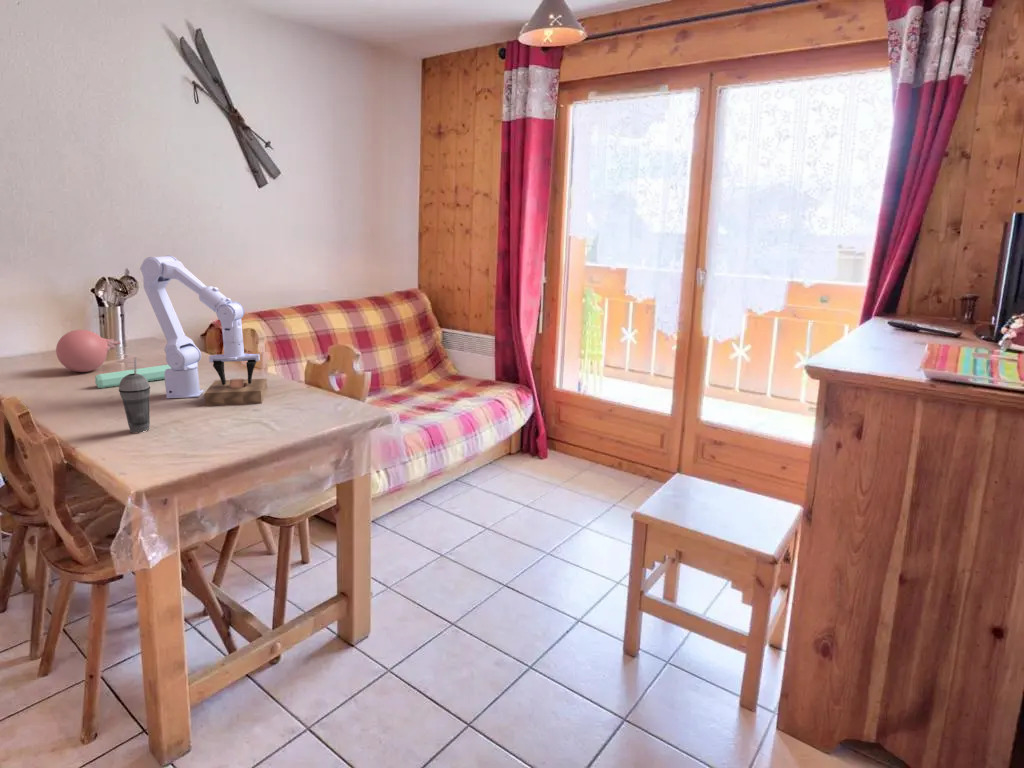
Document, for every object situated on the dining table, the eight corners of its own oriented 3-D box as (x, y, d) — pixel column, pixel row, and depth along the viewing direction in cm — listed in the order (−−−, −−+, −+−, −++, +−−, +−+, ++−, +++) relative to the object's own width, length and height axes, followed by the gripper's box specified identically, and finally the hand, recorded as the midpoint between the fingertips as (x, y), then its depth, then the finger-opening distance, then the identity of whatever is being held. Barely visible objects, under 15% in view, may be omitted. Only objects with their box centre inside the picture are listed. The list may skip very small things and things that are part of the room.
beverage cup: (132, 426, 175) (123, 354, 170) (160, 426, 175) (151, 354, 170) (118, 435, 168) (108, 360, 163) (147, 434, 168) (138, 360, 163)
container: (94, 371, 209) (176, 360, 226) (91, 375, 214) (172, 364, 230) (98, 389, 209) (180, 376, 226) (95, 392, 214) (176, 380, 230)
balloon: (126, 371, 235) (121, 330, 231) (60, 378, 223) (54, 335, 220) (121, 363, 247) (116, 324, 243) (58, 370, 235) (51, 328, 231)
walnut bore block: (205, 405, 195) (204, 393, 194) (216, 392, 210) (214, 380, 209) (261, 403, 199) (260, 390, 198) (267, 390, 214) (266, 378, 213)
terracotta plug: (230, 399, 202) (228, 381, 200) (232, 396, 206) (230, 378, 204) (243, 399, 203) (242, 380, 201) (245, 396, 207) (244, 377, 205)
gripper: (205, 344, 194) (209, 387, 198) (256, 343, 198) (259, 385, 201) (210, 340, 201) (214, 382, 204) (259, 339, 205) (262, 380, 208)
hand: (236, 383), depth 203 cm, fingers open, 7 cm apart
